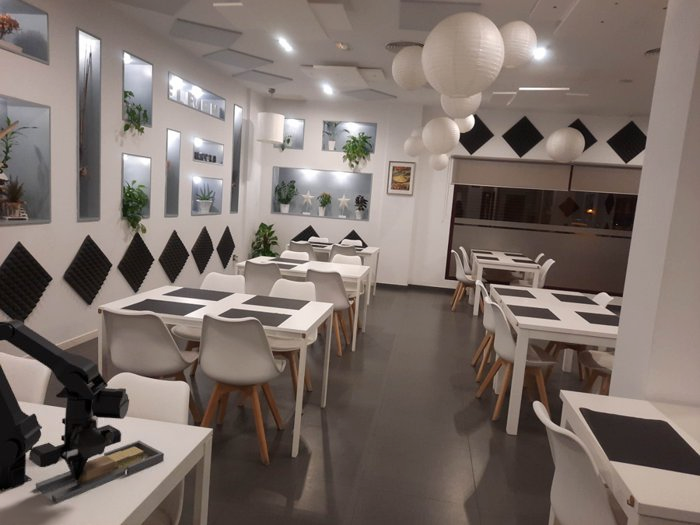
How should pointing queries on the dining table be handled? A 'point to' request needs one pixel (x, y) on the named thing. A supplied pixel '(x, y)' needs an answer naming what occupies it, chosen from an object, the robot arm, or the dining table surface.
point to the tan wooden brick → (97, 468)
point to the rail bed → (73, 485)
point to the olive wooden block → (120, 459)
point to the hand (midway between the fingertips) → (76, 479)
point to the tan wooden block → (134, 454)
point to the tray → (154, 459)
